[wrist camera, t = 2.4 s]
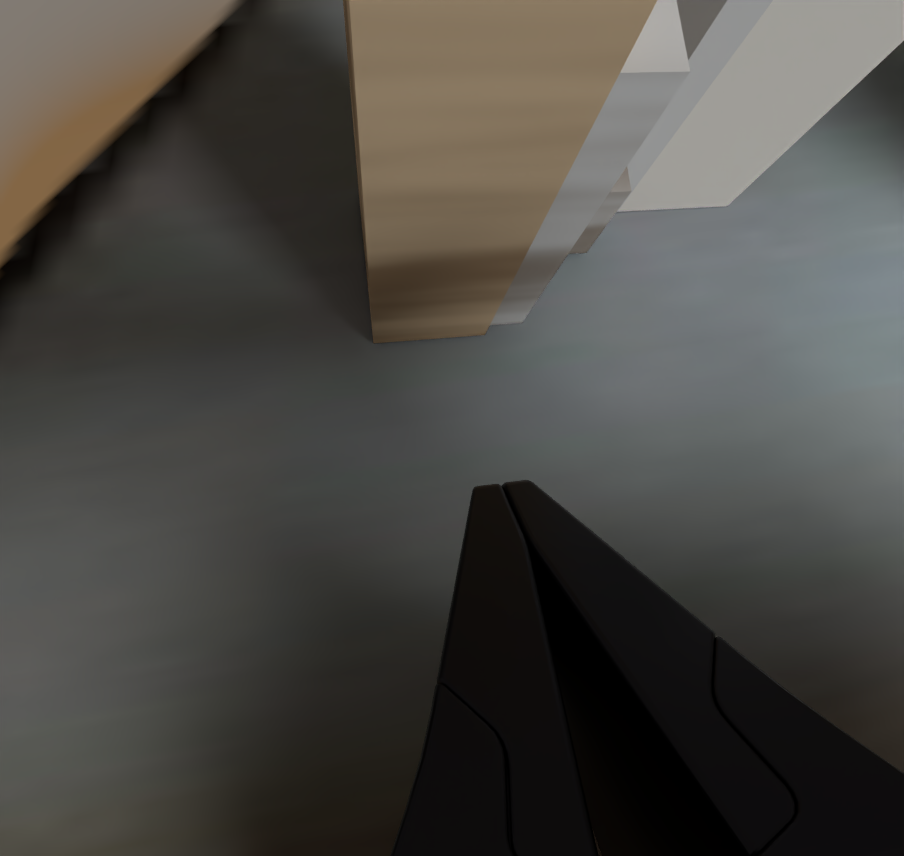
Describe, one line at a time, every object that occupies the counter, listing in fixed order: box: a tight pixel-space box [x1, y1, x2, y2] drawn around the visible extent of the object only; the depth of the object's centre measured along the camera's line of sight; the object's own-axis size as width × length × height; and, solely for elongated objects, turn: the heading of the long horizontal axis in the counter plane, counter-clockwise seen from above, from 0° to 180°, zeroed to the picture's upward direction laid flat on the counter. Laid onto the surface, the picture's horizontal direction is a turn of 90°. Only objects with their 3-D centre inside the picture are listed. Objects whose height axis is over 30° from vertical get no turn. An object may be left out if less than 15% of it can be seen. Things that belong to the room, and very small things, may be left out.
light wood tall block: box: [343, 0, 690, 343], centre depth 13 cm, size 5×7×12 cm
